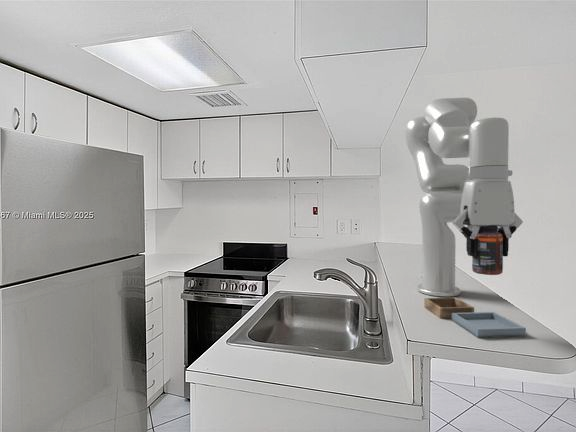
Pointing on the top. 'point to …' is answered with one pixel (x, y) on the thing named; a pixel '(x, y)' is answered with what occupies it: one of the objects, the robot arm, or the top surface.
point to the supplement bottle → (489, 251)
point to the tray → (488, 325)
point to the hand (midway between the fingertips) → (487, 255)
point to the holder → (447, 306)
